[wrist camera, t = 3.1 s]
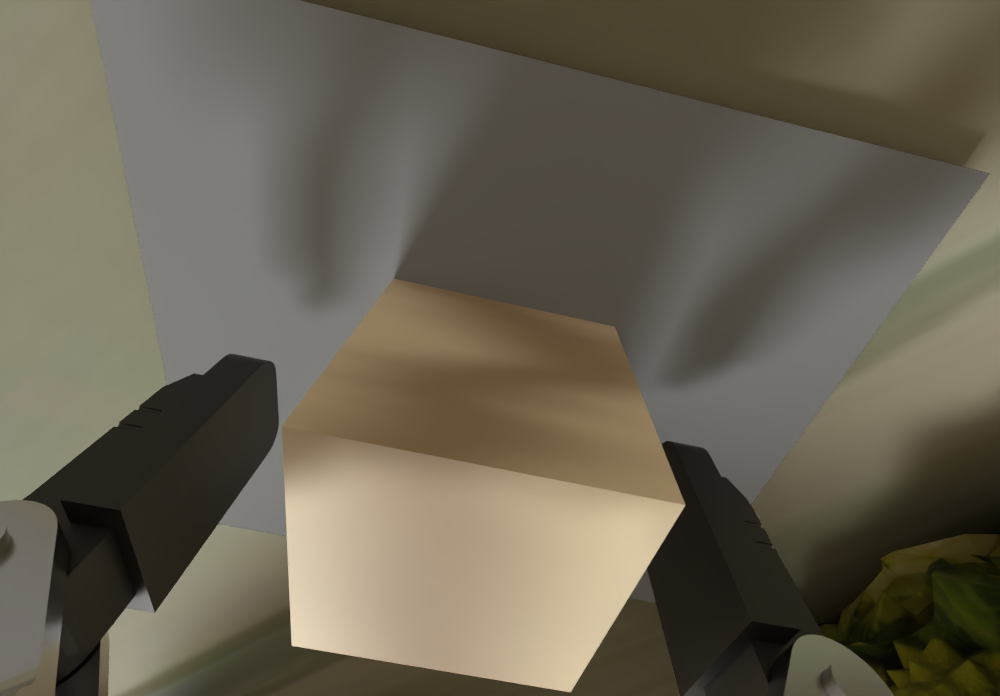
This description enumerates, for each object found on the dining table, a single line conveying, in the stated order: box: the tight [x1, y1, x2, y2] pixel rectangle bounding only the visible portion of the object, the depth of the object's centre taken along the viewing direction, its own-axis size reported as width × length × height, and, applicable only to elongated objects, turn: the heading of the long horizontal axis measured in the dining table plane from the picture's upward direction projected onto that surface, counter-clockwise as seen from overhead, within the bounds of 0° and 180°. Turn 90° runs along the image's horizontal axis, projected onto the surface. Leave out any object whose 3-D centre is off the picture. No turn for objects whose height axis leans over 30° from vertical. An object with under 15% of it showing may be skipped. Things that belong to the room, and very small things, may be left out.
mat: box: [90, 0, 990, 603], centre depth 11 cm, size 16×14×1 cm
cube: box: [282, 279, 685, 692], centre depth 9 cm, size 5×5×5 cm
